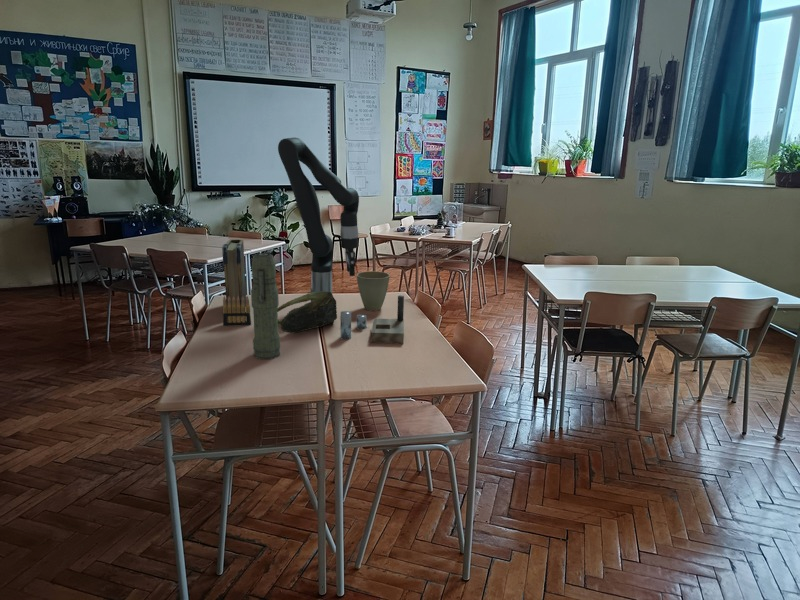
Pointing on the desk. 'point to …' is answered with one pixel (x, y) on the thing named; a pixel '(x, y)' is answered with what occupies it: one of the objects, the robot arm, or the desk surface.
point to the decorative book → (234, 270)
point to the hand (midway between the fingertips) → (350, 273)
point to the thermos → (265, 307)
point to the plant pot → (373, 288)
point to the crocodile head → (309, 312)
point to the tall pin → (345, 324)
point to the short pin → (361, 321)
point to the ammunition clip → (236, 315)
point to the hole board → (389, 327)
